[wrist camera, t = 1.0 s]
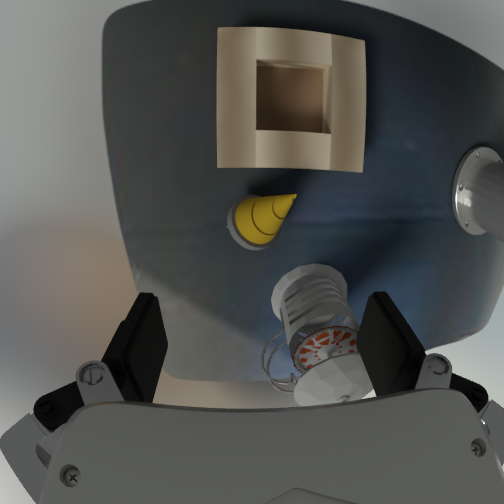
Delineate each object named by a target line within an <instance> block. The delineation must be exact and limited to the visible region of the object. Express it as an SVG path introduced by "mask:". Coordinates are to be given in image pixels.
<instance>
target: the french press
mask: <svg viewBox="0 0 504 504" xmlns="http://www.w3.org/2000/svg"><path fill="white" fill-rule="evenodd" d="M346 299H347V283H346V281H345V279H344V277H343V276H342V274H341V273H340V272H338V271H337V270H336V269H334V268H333V267H331V266H328V265H322V264H317V263H314V264H309V265H303V266H299V267H297V268H295V269H294V270H292V271H290V272H288V273H287V274H285V275H284V276H283V277H282V278H281V280H280V281H279V282H278V283H277V284H276V286H275V288H274V291H273V294H272V298H271V302H272V307H273V312H274V313H275V314H276V316H277V317H278V318H279V319H280V321H281V323H282V330H281V331H280V332H279V333H277V334H276V335H275V336H273V337H272V338H271V339H270V340H269V341H268V342H267V343H266V345H265V347H264V349H263V351H262V355H261V369H262V370H263V372H264V374H265V375H266V376H267V377H268V379H269V381H270V383H271V384H272V385H273V386H274V388H275V389H277V390H280V391H282V392H285V393H293V394H294V396H295V400H296V402H297V403H299V404H300V405H301V406H314V405H323V404H332V403H340V402H347V401H354V400H360V399H361V398H363V397H364V396H365V395H366V394H368V393H369V392H371V391H372V389H373V386H372V383H371V381H370V378H369V376H368V373H367V371H366V368H365V366H364V363H363V361H362V358H361V356H360V354H359V351H358V349H357V346H356V338H357V335H358V332H359V328H360V327H359V324H358V322H357V320H356V318H355V316H354V314H353V312H352V310H351V308H350V306H349V304H348V302H347V300H346ZM337 315H340V317H339V318H338V320H337V321H336V322H335V324H334V325H333V326H331V327H329V325H330V324H331V323H332V322H333V321H334V319H335V318H336V317H337ZM344 315H345V316H346V318H345V320H344V321H343V323H342V324H341V326H337V325H338V324H339V323H340V321H341V320H342V318H343V317H344ZM347 322H349V325H348V327H345V325H346V323H347ZM284 327H285V328H284ZM284 330H285V332H286V338H287V339H286V340H285V341H284V342H283V343H282V344H280V345H279V346H278V347H276V348H275V350H274V351H273V352H272V353H271V355H270V357H269V360H268V363H267V372H266V370H265V368H264V353H265V351H266V348H267V346H268V345H269V344H270V342H271V341H272V340H273V339H275V338H276V337H277V336H279V335H280V334H281V333H282V332H283V331H284ZM298 332H300V333H302V334H304V335H308V336H307V337H306V338H305V337H303V336H301V335H299V334H298ZM299 338H300V339H302V341H301V342H300V339H299ZM285 343H287V344H288V345H289V347H290V353H291V358H292V359H293V362H294V366H295V367H296V368H297V370H298V371H299V372H300V373H303V374H302V375H301V377H300V379H299V380H298V382H297V380H296V378H295V376H294V374H293V373H291V374H290V375H291V381H290V382H282V381H277V380H275V379H273V378H271V377H270V374H269V365H270V361H271V358H272V356H273V354H274V353H275V352H276V351H277V349H278V348H280V347H281V346H283V345H284V344H285ZM293 380H294V382H295V388H294V391H287V390H283V389H281V388H279V387H277V386H276V385H275V384H274V383H273V382H272V381H274V382H276V383H278V384H284V385H289V384H291V383H292V382H293Z"/></svg>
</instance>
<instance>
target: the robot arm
mask: <svg viewBox="0 0 504 504" xmlns="http://www.w3.org/2000/svg"><path fill="white" fill-rule="evenodd" d="M452 205H453V211H454V215H455V218H456V220H457V222H458V224H459V225H460V227H461V228H462V229H463V230H465V231H466V232H468V233H470V234H472V235H480V234H483V233H485V232H488V233H490V234H491V235H493V236H494V237H496V238H497V239H499V240H500V241H502V242H503V243H504V164H503V162H502V159H501V158H500V156H499V155H498V154H497V153H496V152H495V151H494V150H492V149H491V148H488V147H484V146H478V147H475V148H473V149H471V150H470V151H468V152H467V154H466V155H465V156H464V157H463V159H462V160H461V162H460V164H459V166H458V168H457V171H456V174H455V178H454V183H453V189H452ZM356 346H357V349H358V351H359V354H360V356H361V358H362V361H363V363H364V366H365V368H366V371H367V373H368V376H369V378H370V381H371V383H372V386H373V388H374V391H375V393H376V396H377V397H372V398H366V399H360V400H354V401H347V402H340V403H332V404H323V405H314V406H302V407H288V408H267V409H224V408H223V409H222V408H201V407H188V406H174V405H164V404H154V403H152V402H153V398H154V394H155V390H156V387H157V383H158V380H159V376H160V372H161V369H162V366H163V362H164V359H165V355H166V352H167V348H168V341H167V337H166V333H165V328H164V324H163V320H162V315H161V310H160V306H159V301H158V297H157V296H154V294H153V293H142V292H141V293H139V295H138V297H137V299H136V300H135V302H134V304H133V306H132V308H131V310H130V311H129V313H128V315H127V317H126V319H125V320H123V321H122V322H121V323H120V325H119V327H118V329H117V330H116V333H115V334H114V336H113V338H112V340H111V342H110V344H109V346H108V348H107V350H106V352H105V354H104V356H103V358H102V360H101V361H89V362H86V363H84V364H83V365H82V366H80V367H79V369H78V370H77V372H76V381H74V382H72V383H70V384H68V385H66V386H64V387H61V388H59V389H57V390H55V391H53V392H50V393H48V394H46V395H43V396H42V397H40V398H39V399H38V400H37V401H36V403H35V405H34V409H33V410H34V413H33V414H32V415H30V414H29V413H28V414H27V415H25V416H24V417H23V418H22V419H21V420H19V421H18V422H17V423H16V424H15V425H13V426H12V427H11V428H10V429H9V430H7V431H6V432H5V433H4V434H3V435H2V436H1V439H0V449H1V451H2V453H3V454H4V456H5V458H6V460H7V461H8V463H9V465H10V466H11V468H12V470H13V471H14V473H15V474H16V476H17V477H18V479H19V480H20V482H21V483H22V485H23V486H24V488H25V489H26V491H27V492H28V493H29V495H30V496H31V497H32V499H33V500H34V501H35V502H36V504H504V472H503V469H502V465H503V463H504V408H502V407H501V406H500V405H499V404H497V403H496V402H495V401H493V400H491V401H488V394H487V391H486V390H485V388H484V387H482V386H481V385H480V384H477V383H475V382H473V381H470V380H467V379H466V378H463V377H461V376H458V375H456V374H454V373H452V365H451V363H450V361H449V360H448V359H447V358H446V357H445V356H443V355H441V354H436V353H433V354H429V355H426V354H425V349H424V347H423V346H422V344H421V343H420V341H419V340H418V338H417V336H416V335H415V333H414V332H413V330H412V329H411V327H410V326H409V324H408V323H407V321H406V320H405V318H404V317H403V315H402V314H401V312H400V311H399V310H398V308H397V307H396V305H395V304H394V302H393V301H392V300H391V298H390V297H389V295H388V294H387V293H386V292H385V291H382V292H373V294H372V295H370V296H369V298H368V301H367V305H366V308H365V312H364V315H363V319H362V322H361V325H360V328H359V332H358V335H357V338H356Z"/></svg>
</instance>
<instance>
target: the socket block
mask: <svg viewBox="0 0 504 504" xmlns="http://www.w3.org/2000/svg"><path fill="white" fill-rule="evenodd" d="M365 123H366V58H365V41H363V40H359V39H354V38H349V37H344V36H339V35H334V34H328V33H321V32H314V31H306V30H297V29H285V28H268V27H224V28H218V43H217V168H239V167H261V168H301V169H321V170H336V171H349V172H361V173H362V171H363V158H364V144H365Z"/></svg>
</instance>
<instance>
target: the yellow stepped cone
mask: <svg viewBox="0 0 504 504" xmlns="http://www.w3.org/2000/svg"><path fill="white" fill-rule="evenodd" d="M296 196H297V195H296V194H289V195H278V196H268V197H260V196H257V195H247V196H243V197H241V198H240V199H239V200H238V201H236V202H235V203H234V204H233V205H232V207H231V208H230V210H229V212H228V217H227V223H228V226H226V227H227V228H229V231H230V233H231V235H232V236H233V238H234V239H235V240H236V241H237V243H239V244H240V245H241V246H243V247H245V248H247V249H250V250H262V249H264V248H266V247H269V246H270V245H272V244H273V243H274V242H275V241H276V240H277V239H278V237H279V234H280V231H281V224H282V222H283V220H284V218H285V216H286V215H287V213H288V211H289V209H290V207H291V205H292V203H293V199H295V198H296Z"/></svg>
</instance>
